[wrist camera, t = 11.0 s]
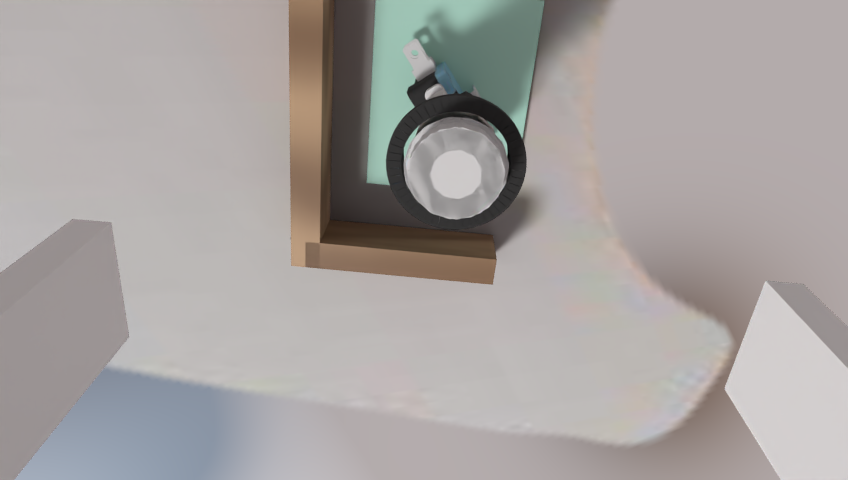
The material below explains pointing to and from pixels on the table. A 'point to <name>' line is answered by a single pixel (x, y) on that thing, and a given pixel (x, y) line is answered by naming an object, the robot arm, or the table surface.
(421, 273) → the wooden l-shaped wall
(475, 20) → the pad
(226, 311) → the table surface
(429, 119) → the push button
